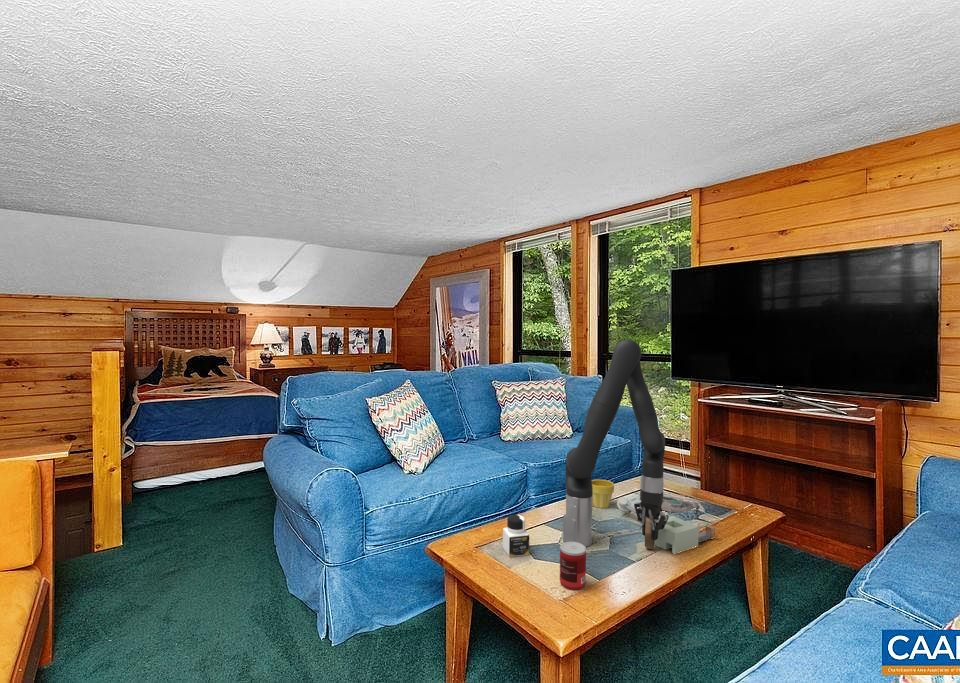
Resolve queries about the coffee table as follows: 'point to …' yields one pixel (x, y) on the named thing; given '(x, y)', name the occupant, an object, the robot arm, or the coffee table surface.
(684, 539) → the dock
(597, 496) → the plant pot
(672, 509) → the terrain model
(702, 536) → the pin
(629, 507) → the white handheld tool
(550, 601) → the coffee table surface
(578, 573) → the canned food
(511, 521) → the medicine bottle
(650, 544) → the dowel
